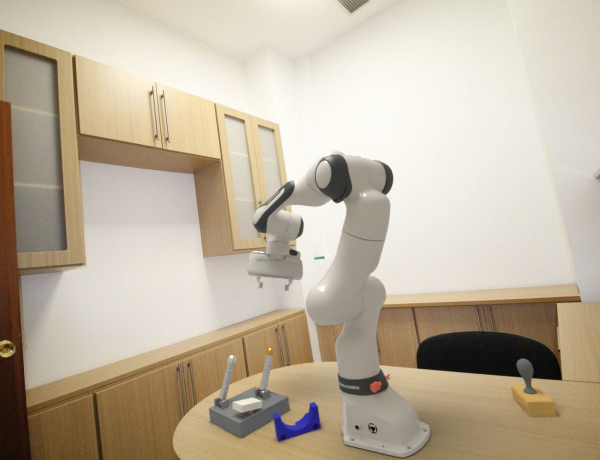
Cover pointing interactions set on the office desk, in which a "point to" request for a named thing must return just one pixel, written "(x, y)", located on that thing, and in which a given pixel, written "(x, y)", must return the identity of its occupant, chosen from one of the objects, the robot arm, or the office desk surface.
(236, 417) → the panel
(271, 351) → the lever orange
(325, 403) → the office desk surface
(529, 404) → the rubber stamp
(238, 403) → the white rectangular block
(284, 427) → the cable clip
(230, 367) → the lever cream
